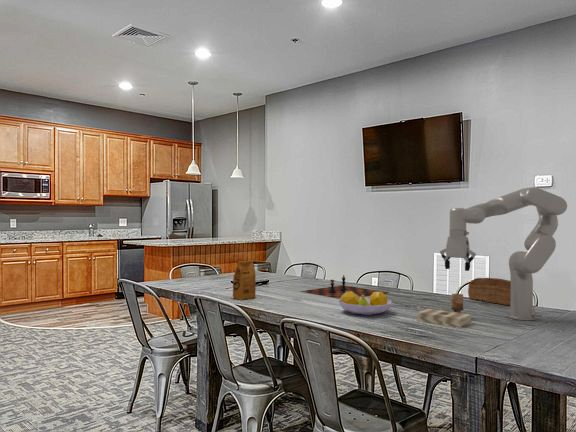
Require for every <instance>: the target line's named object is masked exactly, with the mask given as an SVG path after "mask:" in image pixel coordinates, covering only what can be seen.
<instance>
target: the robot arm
mask: <svg viewBox="0 0 576 432" xmlns="http://www.w3.org/2000/svg"><path fill="white" fill-rule="evenodd" d="M529 206H534V207H536V211H537V214H538V221H537V223H536V225H535V226H534V227H533V229H532V231H531V232H530V233H529V234H528V236H527V237H526V238H525V240H524V242H523V243H524V248H525V249H526V250H527V251H524V250H523V251H521V250H519V251H515V252H513V253H512V254H511V255H510V256H509V259H508V267H509V274H510V281H511V306H510V313H507V314H506V317H507V318H508V319H512V320H516V321H536V320H537V317H539V318H543V316H544V315H543V314H544V313H543V312H540V311H539V312H538V311H536V309H535V308H534V306H533V305H534V303H533V302H534V299H533V297H534V295H533V294H534V278H533V274H535V273H538V272H540V271H541V270H542V268H543V267H544V266H545V264H546V263H547V262H548V260H550V258H551V256H552V255H553V253H554V252H555V250H556V247H557V242H556V239H555V238H554V234H555V233H556V232H557V230H558V226H559V220H558V216H560V215H562V214H564V213H565V212H566V211H567V209H568V204H567V201H566V200H565V199H564V198H563V197H562V196H559V195H556V194H554V193H552V192H549V191H547V190H544V189H542V188H538V187H534V186H532V187H531V186H530V187H524V188H521V189H518V190H515V191H512V192H510V193H507V194H504V195H500V196H499V197H496V198H493V199H490V200H487V201H485V202H481V203H479V204H476V205H473V206H470V207H468V208H463V207H453V208H451V209H450V210H449V231H448V232H449V233H448V235H449V236H447V238H446V239H447V240H446V246H445V248H444V249H442V250H440V251H439V254H440V255H441V258H442V259H443V260H444V267H445V270H450V268H451V266H450V265H451V261H450V259H451V258H456V259H457V258H458V259H463V260H464V261H465V262H464V263H465V264H464V272H465V271H466V272H468V271H470V269H471V262H472V261H473V260H474V259H475V257H476V256H477V253H476V252H475V251H472V250H471V249H470V248H471V247H470V242H469V241H470V240H469V237H468V236H469V234H470V232H469V231H467V224H473V225H475V224H476V225H477V224H481V223H483V222H484V220H485V219H486V218H490V217H495V216H503V215H506V214H509V213H512V212H514V211H518V210H521V209H524V208H526V207H529ZM467 235H468V236H467Z"/></svg>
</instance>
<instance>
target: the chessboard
mask: <svg viewBox="0 0 576 432" xmlns="http://www.w3.org/2000/svg"><path fill="white" fill-rule="evenodd" d="M341 280H342V281H341V283H342V284H341V285H340V284H339V285H335V283H334V282H335V279H330V280H329V281H330V282H331V283H330V285H331V286H327V287H319V288H312V289H305V290H300V291H299V292H301V293H304V294H311V295H316V296H321V297H327V298H332V299H338V300H339V299H340V298H341V296H342V295H343V294H344V293H346V292H349V291H352V292H354V293H355V294H356V295H358V297H362V295H364V297H370V296H371V294H372V293H373V292H383V293H384V295H386V294H389V291H385V290H384V291H383V290H377V289H372V288H371V289H370V288H364V287H358V286H352V285H351V286H349V285H346V277H345V275H342V277H341Z"/></svg>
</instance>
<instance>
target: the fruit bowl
mask: <svg viewBox="0 0 576 432" xmlns="http://www.w3.org/2000/svg"><path fill="white" fill-rule="evenodd" d="M337 301H338V304H339V305H340V306H341V308H342V309H344V310H345V311H347V312H349V313H351V314H352V313H353V315H360V314H361V316H373V314H374V315H378V314H382V313H384V312H385V311H387V310H389V309H390V308H391V306H392V300H391V299H388V298H387V295H386V294H384V293H383V292H373V293H372V294H371V296H367V297H364V295H362V297H358V295H356V294H355V293H354V292H352V291H349V292H346V293H344V294H343V295H342V296H341V298H340V299H338V300H337Z"/></svg>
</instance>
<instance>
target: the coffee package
mask: <svg viewBox="0 0 576 432" xmlns="http://www.w3.org/2000/svg"><path fill="white" fill-rule="evenodd" d="M236 264H237V266H236V268H235V269H236V270H235V272H234V275H233V279H232V297H233V299H235V300H239V301H243V300H251V299H255V298H256V289H257V288H256V287H257V286H256V285H257V284H256V282H257V280H256V270H255V267H254V263H253V260H247V261H244V260H242V261H241V260H240V261H239V260H237V261H236Z"/></svg>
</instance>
